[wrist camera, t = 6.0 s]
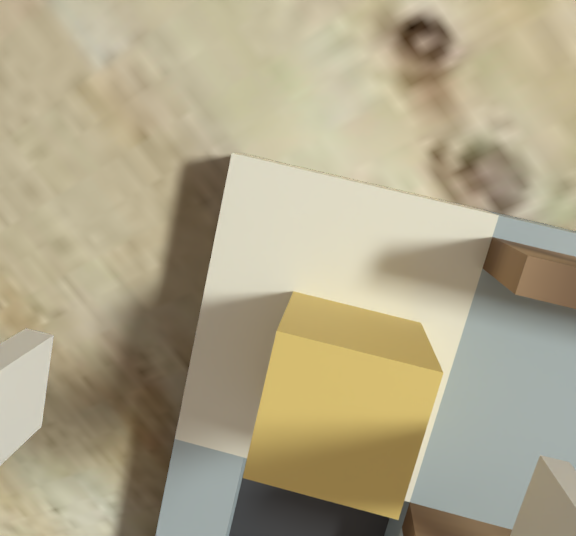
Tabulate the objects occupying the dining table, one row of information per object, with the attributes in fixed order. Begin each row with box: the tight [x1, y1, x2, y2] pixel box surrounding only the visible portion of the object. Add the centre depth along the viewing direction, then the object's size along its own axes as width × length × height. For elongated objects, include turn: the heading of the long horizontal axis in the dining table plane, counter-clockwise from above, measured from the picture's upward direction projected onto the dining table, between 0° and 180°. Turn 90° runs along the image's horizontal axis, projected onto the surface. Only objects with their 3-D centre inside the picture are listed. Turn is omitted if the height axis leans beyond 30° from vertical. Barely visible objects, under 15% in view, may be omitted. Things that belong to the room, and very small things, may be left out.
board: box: [155, 153, 576, 536], centre depth 23 cm, size 28×20×2 cm
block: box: [243, 291, 443, 520], centre depth 19 cm, size 5×5×5 cm
